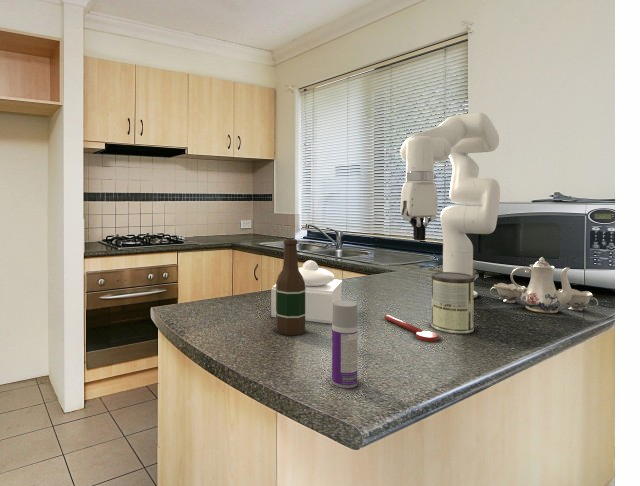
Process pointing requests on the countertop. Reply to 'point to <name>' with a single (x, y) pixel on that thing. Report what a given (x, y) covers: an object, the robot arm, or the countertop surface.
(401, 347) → the countertop surface
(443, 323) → the coffee can
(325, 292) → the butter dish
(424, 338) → the red spoon
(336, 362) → the container
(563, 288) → the chinaware
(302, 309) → the beer bottle
